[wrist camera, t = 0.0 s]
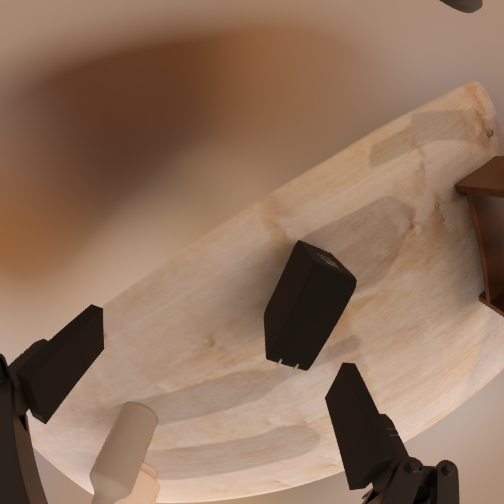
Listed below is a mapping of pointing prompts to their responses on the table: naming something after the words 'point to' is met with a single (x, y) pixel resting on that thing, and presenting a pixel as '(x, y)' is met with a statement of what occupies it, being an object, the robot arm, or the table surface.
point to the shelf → (489, 226)
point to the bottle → (122, 454)
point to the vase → (143, 488)
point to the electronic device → (305, 306)
